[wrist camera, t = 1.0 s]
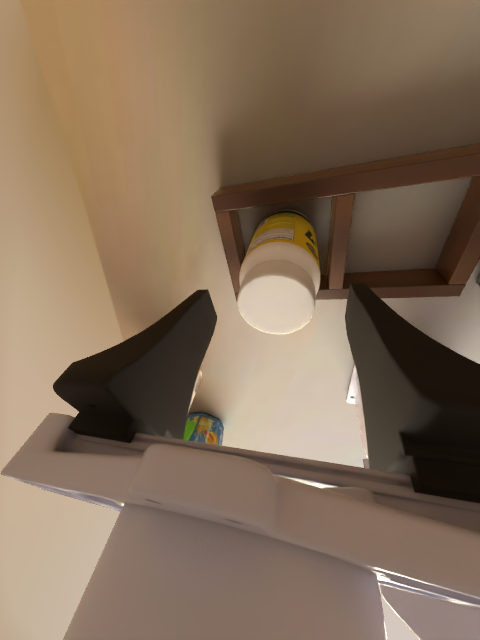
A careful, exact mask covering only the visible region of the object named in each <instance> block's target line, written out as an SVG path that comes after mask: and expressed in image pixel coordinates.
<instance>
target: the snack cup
mask: <svg viewBox="0 0 480 640" xmlns="http://www.w3.org/2000/svg"><path fill="white" fill-rule="evenodd" d="M223 431H224V427H223V425H222V424H221V423H220V421H219V419H215V418H213V417H212V416H210V415H207V414H203V413H194V414H191V415H188V417H187V422H186V427H185V433H184V439H183V440H187V441H194V442H200V443H207V444H213V445H220V446H222V441H223Z"/></svg>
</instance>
